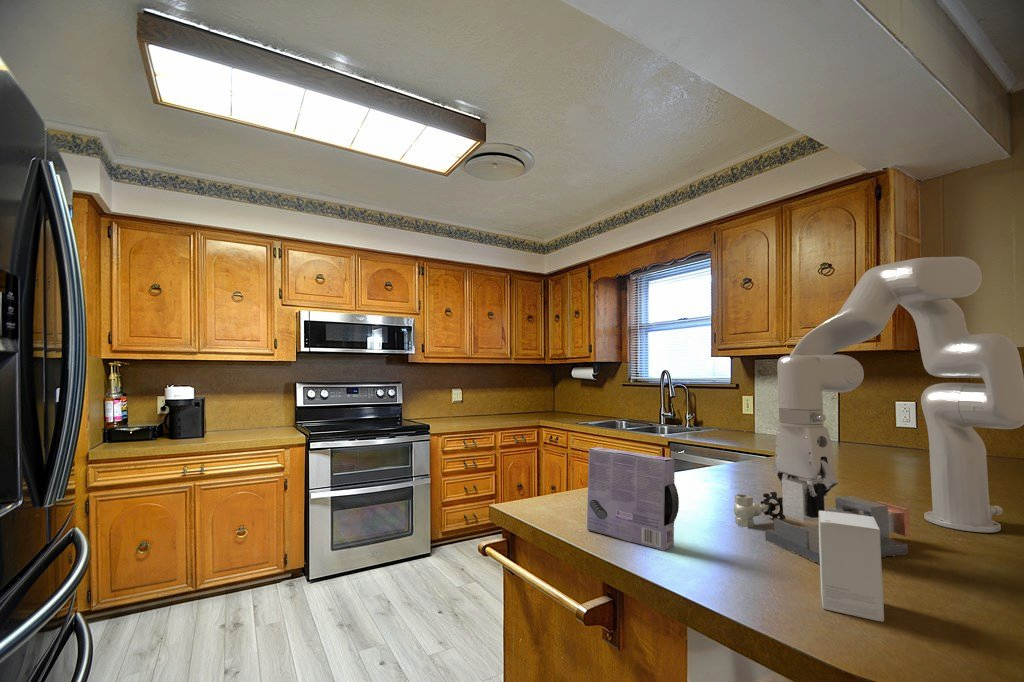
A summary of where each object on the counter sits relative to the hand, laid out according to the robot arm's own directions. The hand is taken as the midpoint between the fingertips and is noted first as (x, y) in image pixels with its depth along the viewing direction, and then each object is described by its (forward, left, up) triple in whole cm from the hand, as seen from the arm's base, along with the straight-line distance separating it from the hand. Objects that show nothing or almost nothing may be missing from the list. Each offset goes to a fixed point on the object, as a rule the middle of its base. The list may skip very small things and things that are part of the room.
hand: (804, 511), depth 94 cm
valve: (-3, -16, -8) cm, 18 cm away
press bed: (-7, 0, -7) cm, 10 cm away
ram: (-15, 0, -5) cm, 16 cm away
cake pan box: (+30, -14, -8) cm, 34 cm away
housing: (0, 0, -1) cm, 1 cm away
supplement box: (+11, +20, -8) cm, 24 cm away
